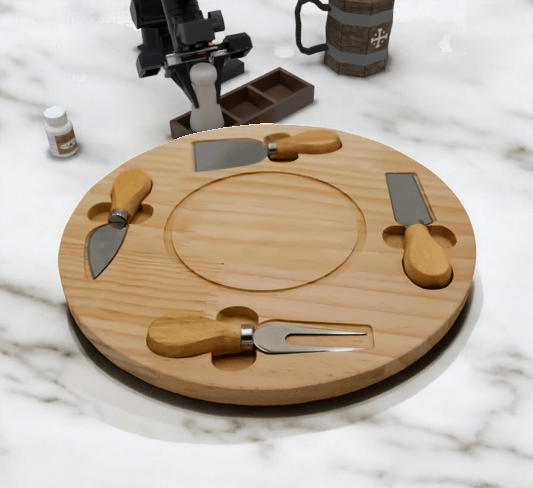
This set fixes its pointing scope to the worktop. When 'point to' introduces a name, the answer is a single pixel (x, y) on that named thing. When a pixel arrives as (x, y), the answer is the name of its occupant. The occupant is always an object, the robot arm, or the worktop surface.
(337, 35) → the mug
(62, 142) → the pill bottle
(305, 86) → the brown compartment tray
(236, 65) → the control block
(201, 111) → the salt shaker
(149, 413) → the worktop surface
